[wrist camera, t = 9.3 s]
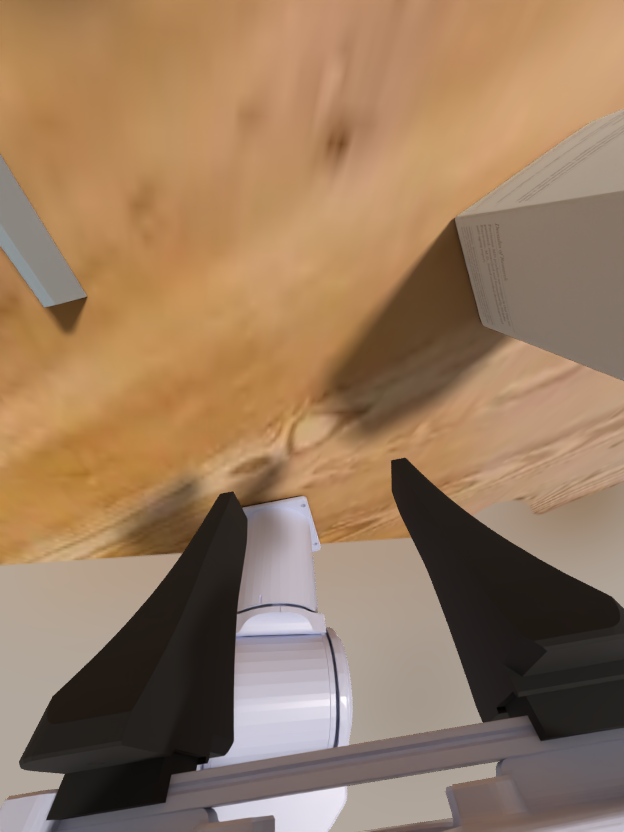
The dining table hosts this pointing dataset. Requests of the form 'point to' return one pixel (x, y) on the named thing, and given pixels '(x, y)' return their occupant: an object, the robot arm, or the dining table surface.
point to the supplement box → (556, 249)
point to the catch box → (33, 246)
